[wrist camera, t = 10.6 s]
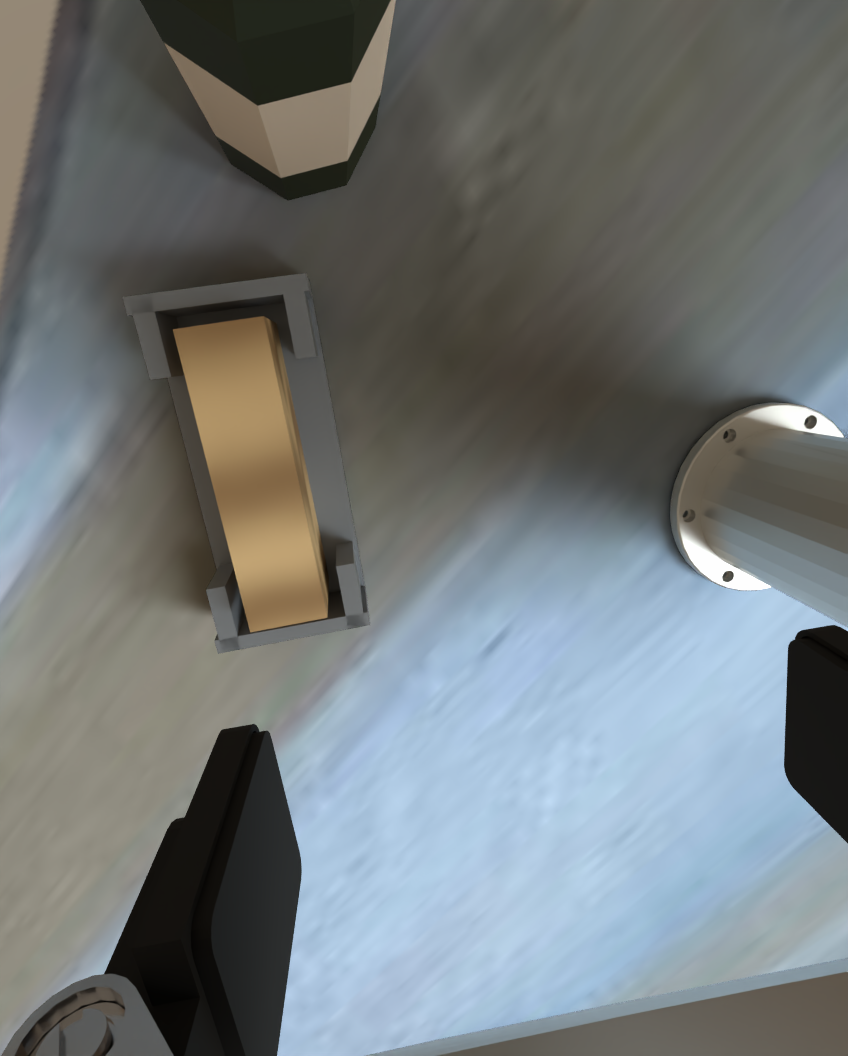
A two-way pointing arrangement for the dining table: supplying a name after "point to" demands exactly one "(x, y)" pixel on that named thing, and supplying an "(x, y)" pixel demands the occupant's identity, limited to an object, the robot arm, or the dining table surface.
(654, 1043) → the robot arm
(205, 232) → the dining table surface
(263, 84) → the wine bottle
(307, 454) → the end-cap rail
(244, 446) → the slat
